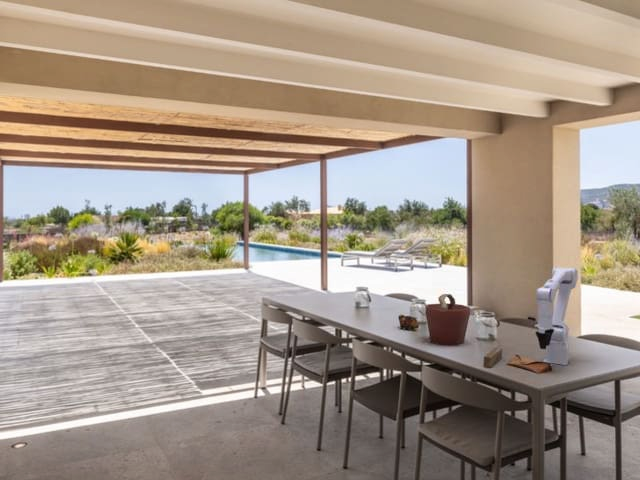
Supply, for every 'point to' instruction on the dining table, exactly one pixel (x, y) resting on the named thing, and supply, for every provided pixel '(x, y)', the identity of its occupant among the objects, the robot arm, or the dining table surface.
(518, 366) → the sunglasses case
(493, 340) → the dining table surface
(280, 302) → the dining table surface
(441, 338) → the bucket
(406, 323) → the decorative turtle
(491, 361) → the stop bar
